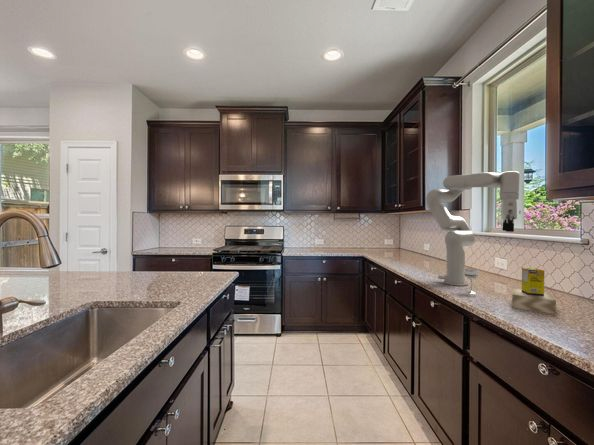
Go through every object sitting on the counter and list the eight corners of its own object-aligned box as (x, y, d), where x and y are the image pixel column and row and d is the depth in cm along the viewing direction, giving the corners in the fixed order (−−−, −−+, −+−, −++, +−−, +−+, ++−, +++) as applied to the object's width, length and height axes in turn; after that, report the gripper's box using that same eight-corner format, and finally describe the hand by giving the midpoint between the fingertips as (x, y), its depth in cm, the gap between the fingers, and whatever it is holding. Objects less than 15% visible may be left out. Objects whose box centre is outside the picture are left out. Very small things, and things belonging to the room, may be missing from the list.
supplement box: (544, 296, 121) (545, 270, 121) (527, 294, 123) (528, 269, 123) (537, 292, 127) (537, 268, 127) (521, 291, 128) (521, 267, 128)
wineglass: (482, 293, 146) (482, 270, 146) (472, 294, 144) (472, 271, 144) (470, 290, 153) (470, 268, 153) (460, 291, 151) (461, 268, 151)
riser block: (512, 308, 123) (512, 294, 123) (512, 301, 135) (512, 288, 134) (555, 315, 115) (555, 300, 115) (552, 306, 126) (552, 293, 126)
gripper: (522, 195, 132) (520, 232, 133) (515, 197, 147) (514, 230, 148) (502, 195, 136) (501, 231, 136) (497, 197, 151) (496, 230, 151)
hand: (507, 231), depth 142 cm, fingers open, 9 cm apart
